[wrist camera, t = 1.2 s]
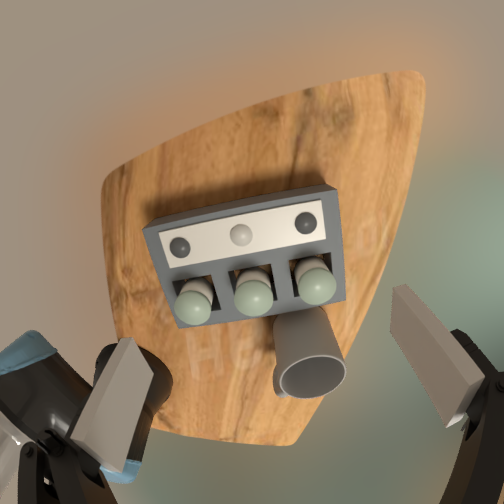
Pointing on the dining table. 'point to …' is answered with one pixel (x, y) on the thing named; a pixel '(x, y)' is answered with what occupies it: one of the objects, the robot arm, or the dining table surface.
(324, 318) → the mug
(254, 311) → the button mid
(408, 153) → the dining table surface
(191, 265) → the button board
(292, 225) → the card
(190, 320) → the button
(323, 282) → the button
